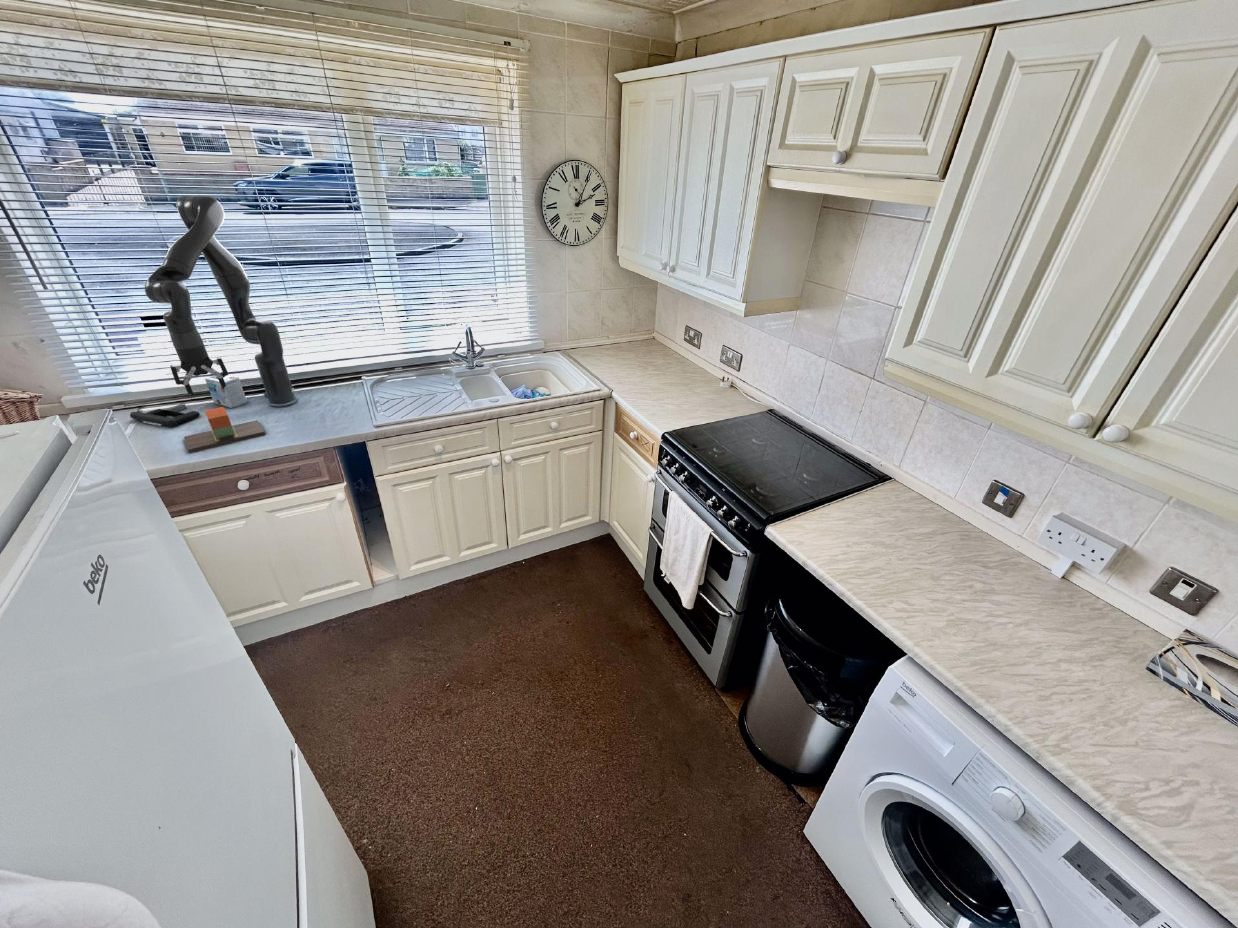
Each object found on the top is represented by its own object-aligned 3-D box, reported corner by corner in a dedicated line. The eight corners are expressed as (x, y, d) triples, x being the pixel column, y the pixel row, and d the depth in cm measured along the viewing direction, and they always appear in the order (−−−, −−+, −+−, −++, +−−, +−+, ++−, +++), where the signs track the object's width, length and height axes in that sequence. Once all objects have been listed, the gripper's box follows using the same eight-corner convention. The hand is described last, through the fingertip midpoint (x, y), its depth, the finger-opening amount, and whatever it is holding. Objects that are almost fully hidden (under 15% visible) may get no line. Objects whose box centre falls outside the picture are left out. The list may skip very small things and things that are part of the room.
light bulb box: (213, 403, 207) (203, 378, 202) (230, 397, 212) (220, 372, 207) (232, 408, 204) (222, 382, 198) (248, 402, 209) (239, 376, 204)
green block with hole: (212, 431, 184) (207, 418, 181) (231, 427, 187) (226, 414, 184) (216, 440, 178) (211, 427, 175) (235, 435, 181) (230, 423, 178)
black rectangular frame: (169, 399, 203) (124, 413, 189) (209, 406, 199) (166, 421, 185) (172, 407, 205) (127, 422, 191) (212, 415, 200) (169, 430, 186)
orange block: (208, 420, 182) (204, 410, 180) (227, 416, 185) (223, 406, 183) (212, 429, 176) (208, 419, 174) (231, 425, 179) (227, 415, 177)
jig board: (185, 439, 180) (182, 433, 179) (258, 423, 193) (256, 417, 192) (189, 452, 173) (186, 446, 172) (265, 434, 185) (263, 428, 184)
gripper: (213, 337, 173) (231, 383, 181) (159, 345, 164) (180, 393, 173) (217, 343, 168) (235, 389, 176) (161, 351, 160) (183, 400, 168)
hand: (208, 391), depth 174 cm, fingers open, 8 cm apart
